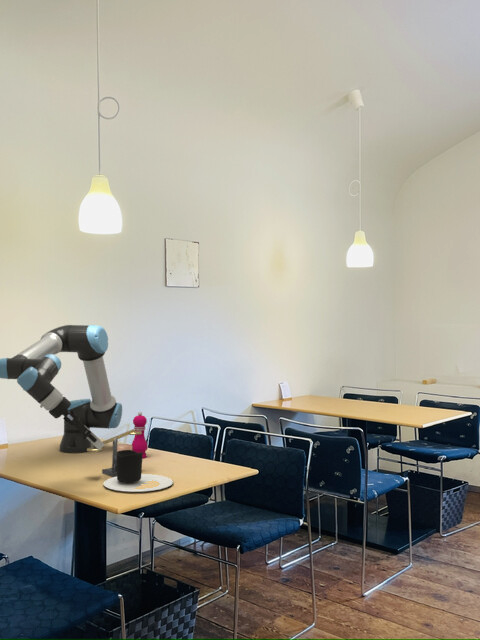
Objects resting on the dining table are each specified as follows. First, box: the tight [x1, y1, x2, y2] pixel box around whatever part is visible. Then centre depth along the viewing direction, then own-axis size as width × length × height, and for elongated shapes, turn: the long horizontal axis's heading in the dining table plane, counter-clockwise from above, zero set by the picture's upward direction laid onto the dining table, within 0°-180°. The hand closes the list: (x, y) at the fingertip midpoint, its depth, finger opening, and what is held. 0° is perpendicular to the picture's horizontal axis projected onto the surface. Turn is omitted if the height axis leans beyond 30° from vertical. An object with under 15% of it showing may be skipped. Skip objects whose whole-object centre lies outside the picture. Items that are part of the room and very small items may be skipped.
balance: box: [87, 428, 142, 478], centre depth 231 cm, size 8×23×16 cm, turn 134°
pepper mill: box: [131, 411, 149, 459], centre depth 262 cm, size 7×7×20 cm
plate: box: [103, 473, 174, 493], centre depth 215 cm, size 25×25×2 cm
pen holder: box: [117, 450, 143, 482], centre depth 218 cm, size 9×9×10 cm
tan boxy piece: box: [117, 443, 132, 452], centre depth 241 cm, size 8×8×9 cm
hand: (98, 443), depth 215 cm, fingers open, 13 cm apart
